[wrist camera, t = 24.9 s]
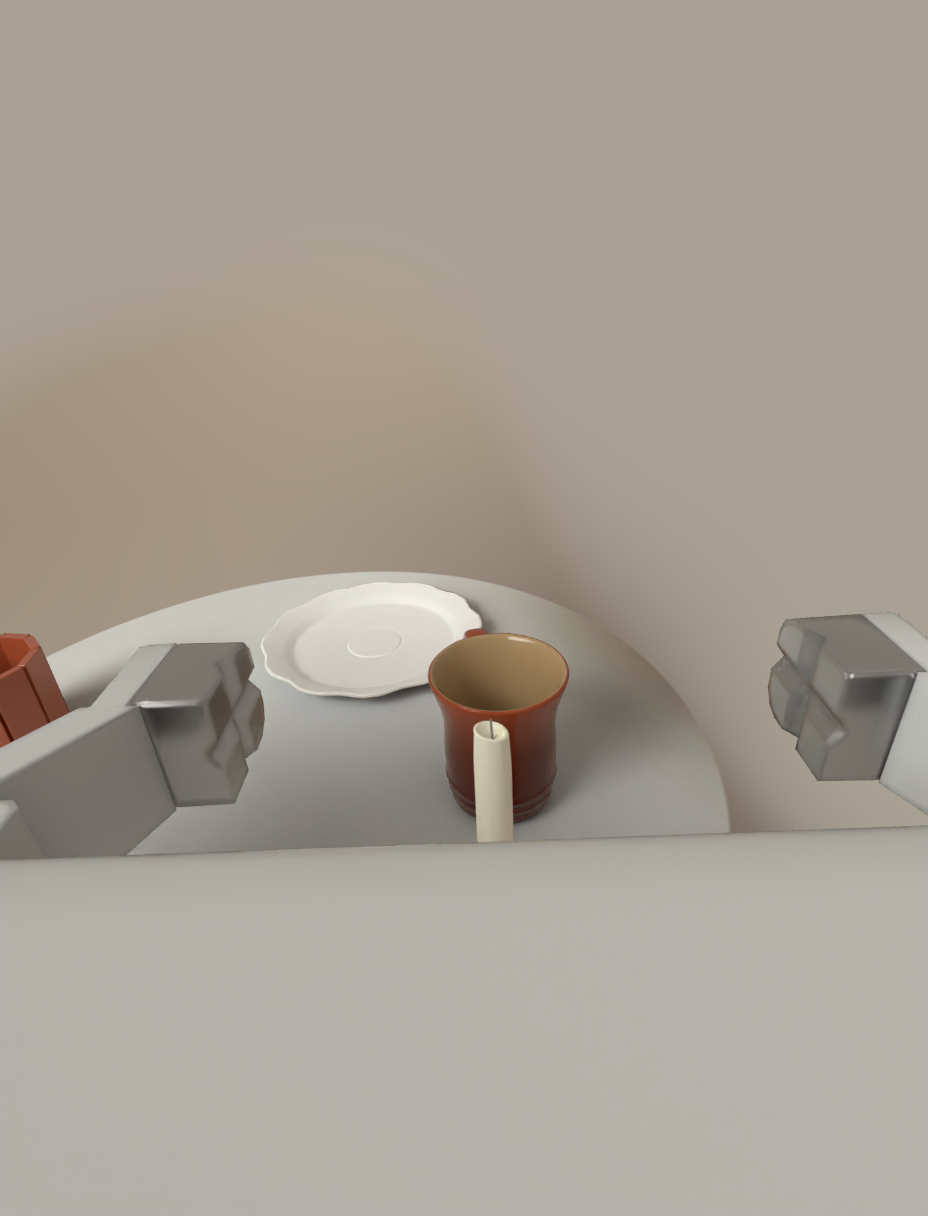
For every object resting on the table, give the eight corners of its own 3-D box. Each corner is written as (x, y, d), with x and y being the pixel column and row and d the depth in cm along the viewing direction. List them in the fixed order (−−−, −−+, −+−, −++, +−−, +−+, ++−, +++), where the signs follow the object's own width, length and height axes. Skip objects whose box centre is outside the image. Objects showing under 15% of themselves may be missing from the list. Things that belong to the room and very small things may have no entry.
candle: (514, 895, 36) (510, 668, 29) (570, 972, 32) (582, 732, 25) (432, 938, 34) (404, 706, 27) (480, 1027, 30) (464, 783, 23)
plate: (492, 597, 70) (492, 583, 69) (463, 717, 52) (462, 701, 51) (311, 592, 73) (309, 579, 72) (225, 704, 55) (220, 688, 54)
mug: (584, 825, 41) (591, 698, 37) (452, 853, 40) (440, 724, 35) (529, 714, 52) (529, 603, 47) (423, 732, 50) (411, 620, 46)
